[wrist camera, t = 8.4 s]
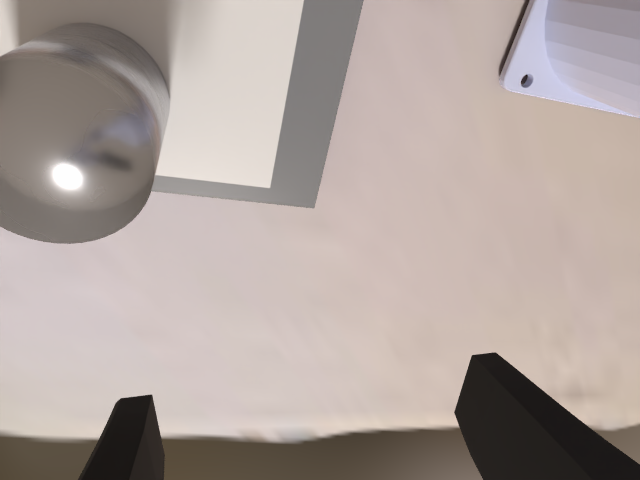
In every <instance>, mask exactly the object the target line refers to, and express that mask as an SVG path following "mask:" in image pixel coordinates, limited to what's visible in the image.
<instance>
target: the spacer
mask: <svg viewBox="0 0 640 480" xmlns="http://www.w3.org/2000/svg"><path fill="white" fill-rule="evenodd" d="M169 111H170V97H169V90H168V87H167V83H166V80H165V78H164V75H163V73H162V71H161V69H160V68H159V66H158V64H157V63H156V61H155V60H154V59H153V57H152V56H151V55H150V54H149V53H148V52H147V51H146V50H145V49H144V48H143V47H142V46H141V45H140V44H139V43H138V42H136V41H135V40H133V39H132V38H130V37H129V36H128V35H126V34H124V33H122V32H120V31H118V30H115V29H113V28H110V27H108V26H104V25H100V24H94V23H71V24H66V25H62V26H59V27H56V28H54V29H52V30H50V31H48V32H46V33H44V34H42V35H40V36H38V37H36V38H34V39H32V40H31V41H29V42H27V43H25V44H23V45H21V46H19V47H17V48H15V49H13V50H11V51H9V52H8V53H6V54H4V55H2V56H0V227H2V228H4V229H6V230H8V231H11V232H13V233H16V234H18V235H21V236H24V237H27V238H30V239H34V240H39V241H43V242H51V243H67V244H71V243H83V242H88V241H93V240H97V239H100V238H103V237H106V236H108V235H111V234H113V233H115V232H117V231H118V230H120V229H122V228H123V227H125V226H126V225H127V224H128V223H130V222H131V221H132V220H133V219H134V218H135V217H136V216H137V215H138V214H139V213H140V211H141V210H142V208H143V207H144V205H145V204H146V202H147V200H148V198H149V195H150V193H151V189H152V186H153V182H154V178H155V173H156V169H157V165H158V160H159V156H160V152H161V147H162V143H163V139H164V135H165V130H166V126H167V122H168V117H169Z"/></svg>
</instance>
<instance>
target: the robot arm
mask: <svg viewBox="0 0 640 480" xmlns="http://www.w3.org/2000/svg"><path fill="white" fill-rule="evenodd" d="M526 74H527V75H528V77H527V81H526V82H525V83H524V84H523V85H521V80H522V78H523V77H524V76H525V75H526ZM500 85H501V86H502V88H504V89H506V90H509V91H511V92H516V93H521V94H526V95H531V96H535V97H540V98H545V99H550V100H555V101H560V102H565V103H570V104H574V105H579V106H584V107H589V108H594V109H599V110H604V111H609V112H614V113H618V114H623V115H628V116H633V117H638V118H640V0H530V1H529V4H528V6H527V9H526V11H525V14H524V16H523V19H522V21H521V24H520V27H519V29H518V32H517V34H516V37H515V39H514V42H513V44H512V47H511V49H510V52H509V54H508V57H507V59H506V62H505V65H504V67H503V70H502V72H501V75H500ZM454 413H455V415H456V418H457V421H458V424H459V426H460V429H461V432H462V434H463V437H464V440H465V442H466V445H467V447H468V449H469V452H470V455H471V457H472V458H473V460H474V462H475V465H476V467H477V468H478V470H479V472H480V474H481V476H482V478H483V480H640V464H638V463H637V462H635V461H634V460H633V459H631V458H630V457H628V456H627V455H626V454H624V453H623V452H622V451H620V450H619V449H617V448H616V447H615V446H613V445H612V444H610V443H609V442H608V441H606V440H605V439H604V438H602V437H601V436H600V435H598V434H597V433H596V432H594V431H593V430H592V429H590V428H589V427H588V426H587V425H585V424H584V423H583V422H581V421H580V420H579V419H578V418H576V417H575V416H574V415H572V414H571V413H570V412H569V411H567V410H566V409H565V408H564V407H562V406H561V405H560V404H559V403H557V402H556V401H555V400H554V399H552V398H551V397H550V396H549V395H548V394H546V393H545V392H544V391H543V390H541V389H540V388H539V387H538V386H536V385H535V384H534V383H533V382H532V381H530V380H529V379H528V378H527V377H525V376H524V375H523V374H522V373H521V372H519V371H518V370H517V369H516V368H514V367H513V366H512V365H511V364H509V363H508V362H507V361H506V360H504V359H503V358H502V357H501V356H499V355H498V354H497V353H487V354H479V355H472V357H471V360H470V363H469V367H468V370H467V373H466V376H465V380H464V383H463V386H462V389H461V393H460V396H459V399H458V402H457V406H456V409H455V412H454ZM164 456H165V455H164V450H163V445H162V441H161V436H160V431H159V426H158V421H157V416H156V411H155V407H154V402H153V397H152V395H145V396H137V397H129V398H121V399H120V400H119V401H117V402H116V404H115V406H114V408H113V411H112V413H111V415H110V417H109V420H108V422H107V424H106V426H105V428H104V430H103V432H102V434H101V436H100V439H99V441H98V443H97V445H96V447H95V448H94V451H93V452H92V454H91V456H90V458H89V460H88V462H87V464H86V466H85V468H84V470H83V471H82V473H81V475H80V477H79V479H78V480H164Z"/></svg>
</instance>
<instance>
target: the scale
mask: <svg viewBox="0 0 640 480" xmlns="http://www.w3.org/2000/svg"><path fill="white" fill-rule="evenodd" d="M362 5H363V0H0V56H2V55H4V54H6V53H8V52H9V51H11V50H13V49H15V48H17V47H19V46H21V45H23V44H25V43H27V42H29V41H31V40H32V39H34V38H36V37H38V36H40V35H42V34H44V33H46V32H48V31H50V30H52V29H54V28H56V27H59V26H62V25H66V24H71V23H94V24H100V25H104V26H108V27H110V28H113V29H115V30H118V31H120V32H122V33H124V34H126V35H128V36H129V37H130V38H132V39H133V40H135V41H136V42H138V43H139V44H140V45H141V46H142V47H143V48H144V49H145V50H146V51H147V52H148V53H149V54H150V55H151V56H152V57H153V59H154V60H155V61H156V63H157V64H158V66H159V68H160V69H161V71H162V73H163V75H164V78H165V80H166V83H167V87H168V90H169V97H170V111H169V117H168V122H167V126H166V130H165V135H164V139H163V143H162V147H161V152H160V156H159V160H158V165H157V169H156V173H155V178H154V182H153V186H152V189H151V191H154V192H164V193H173V194H183V195H192V196H202V197H211V198H220V199H230V200H239V201H249V202H258V203H268V204H277V205H287V206H296V207H306V208H314V207H315V203H316V199H317V194H318V190H319V186H320V182H321V177H322V173H323V169H324V165H325V161H326V156H327V152H328V148H329V144H330V140H331V135H332V131H333V127H334V123H335V118H336V114H337V110H338V106H339V102H340V97H341V93H342V89H343V85H344V81H345V76H346V72H347V68H348V64H349V59H350V55H351V51H352V47H353V43H354V38H355V34H356V30H357V26H358V21H359V17H360V13H361V9H362Z"/></svg>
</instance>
